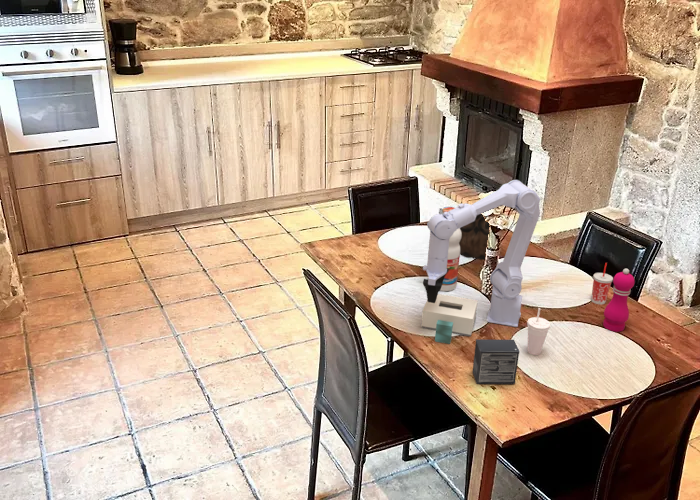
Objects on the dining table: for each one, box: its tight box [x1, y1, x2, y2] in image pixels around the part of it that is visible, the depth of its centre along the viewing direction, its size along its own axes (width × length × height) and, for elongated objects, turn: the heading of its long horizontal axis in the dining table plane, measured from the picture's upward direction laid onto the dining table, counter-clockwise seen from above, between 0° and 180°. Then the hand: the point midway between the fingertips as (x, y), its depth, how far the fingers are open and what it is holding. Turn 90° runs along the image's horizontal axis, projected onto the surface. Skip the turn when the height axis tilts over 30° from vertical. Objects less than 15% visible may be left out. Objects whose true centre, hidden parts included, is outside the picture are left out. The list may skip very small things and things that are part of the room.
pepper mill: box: [602, 268, 635, 333], centre depth 206 cm, size 7×7×20 cm
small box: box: [471, 338, 520, 385], centre depth 181 cm, size 11×6×10 cm, turn 92°
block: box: [434, 320, 453, 345], centre depth 198 cm, size 4×2×6 cm, turn 73°
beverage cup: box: [590, 262, 614, 305], centre depth 222 cm, size 6×6×14 cm
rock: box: [459, 214, 490, 261], centre depth 251 cm, size 13×13×20 cm
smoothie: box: [526, 307, 551, 356], centre depth 193 cm, size 6×6×14 cm
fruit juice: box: [440, 206, 462, 292], centre depth 226 cm, size 9×9×28 cm
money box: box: [420, 293, 479, 337], centre depth 208 cm, size 15×12×6 cm
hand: (434, 296), depth 202 cm, fingers open, 7 cm apart
